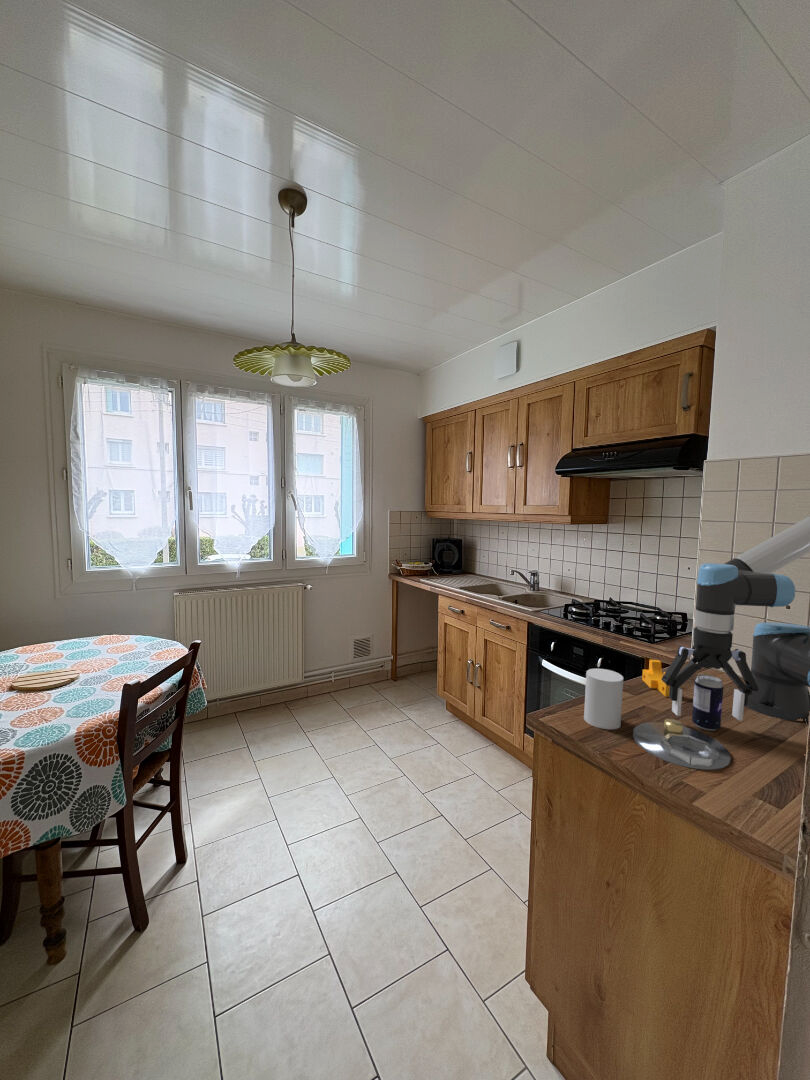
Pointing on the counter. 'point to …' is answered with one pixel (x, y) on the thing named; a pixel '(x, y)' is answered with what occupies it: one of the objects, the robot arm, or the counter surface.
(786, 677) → the robot arm
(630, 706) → the counter surface
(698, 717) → the beverage can
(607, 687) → the white cylinder
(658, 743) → the carrier
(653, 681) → the pipe clamp
